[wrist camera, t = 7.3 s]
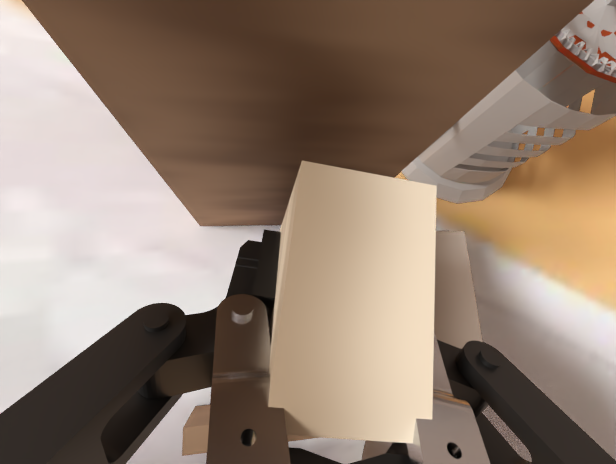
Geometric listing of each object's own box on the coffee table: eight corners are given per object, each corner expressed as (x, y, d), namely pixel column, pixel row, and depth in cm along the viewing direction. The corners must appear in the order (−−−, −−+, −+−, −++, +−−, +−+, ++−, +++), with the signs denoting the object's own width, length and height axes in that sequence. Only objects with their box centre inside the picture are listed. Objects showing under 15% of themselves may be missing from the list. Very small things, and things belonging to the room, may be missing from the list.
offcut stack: (426, 239, 18) (466, 225, 15) (441, 341, 17) (487, 352, 14) (358, 240, 18) (383, 226, 14) (368, 347, 16) (397, 360, 13)
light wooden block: (326, 256, 17) (436, 185, 7) (316, 348, 16) (431, 444, 5) (274, 248, 17) (302, 159, 6) (259, 342, 16) (264, 433, 5)
